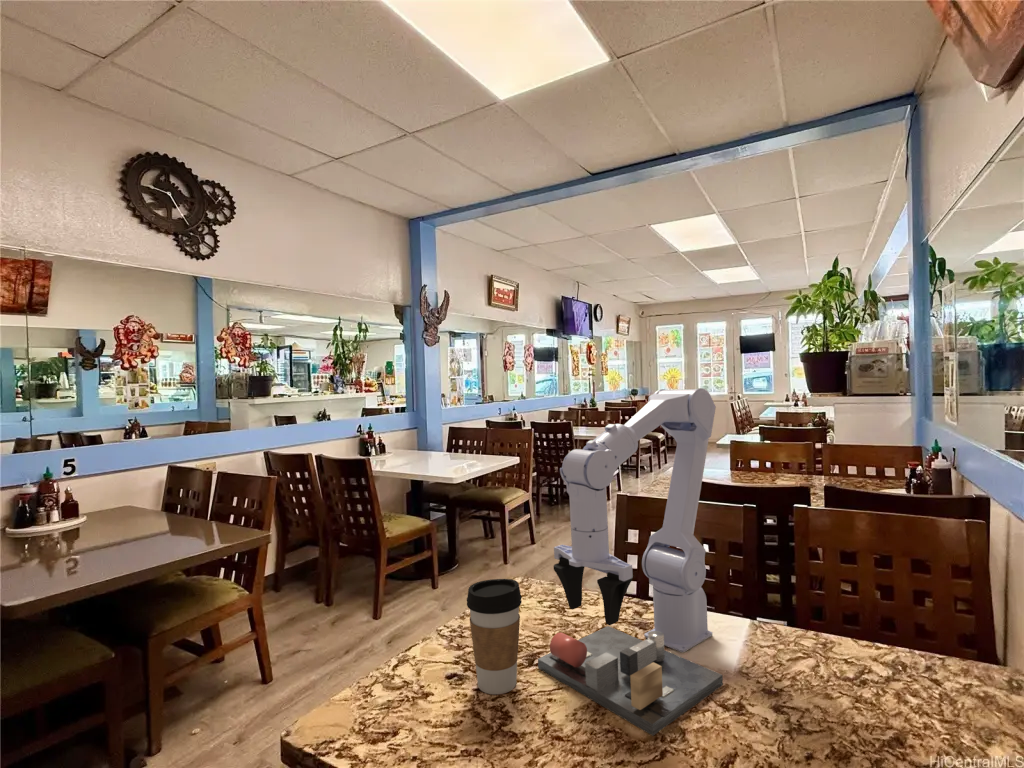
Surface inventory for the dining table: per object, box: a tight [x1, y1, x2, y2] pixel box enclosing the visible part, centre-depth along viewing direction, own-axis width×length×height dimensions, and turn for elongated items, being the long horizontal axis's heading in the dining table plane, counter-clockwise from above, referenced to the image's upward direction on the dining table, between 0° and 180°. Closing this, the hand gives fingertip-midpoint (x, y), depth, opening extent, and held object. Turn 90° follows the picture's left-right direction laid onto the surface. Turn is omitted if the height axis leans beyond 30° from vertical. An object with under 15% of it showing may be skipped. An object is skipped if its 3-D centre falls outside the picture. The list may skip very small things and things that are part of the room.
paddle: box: [630, 662, 663, 710], centre depth 71 cm, size 5×1×4 cm, turn 129°
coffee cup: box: [466, 578, 523, 695], centre depth 80 cm, size 8×8×15 cm
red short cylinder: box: [549, 631, 587, 667], centre depth 82 cm, size 4×5×4 cm
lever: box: [620, 631, 665, 676], centre depth 80 cm, size 9×2×4 cm, turn 129°
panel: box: [537, 625, 724, 736], centre depth 81 cm, size 17×22×5 cm
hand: (593, 614), depth 81 cm, fingers open, 7 cm apart
